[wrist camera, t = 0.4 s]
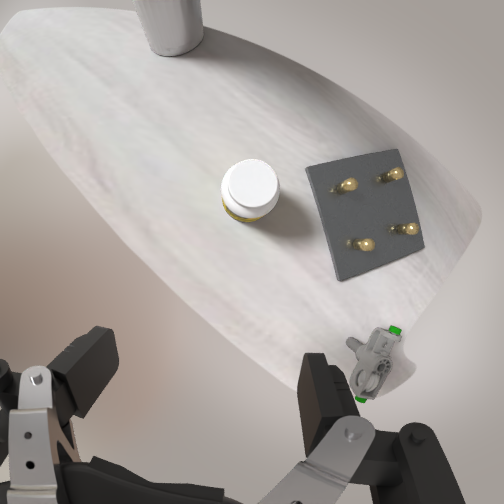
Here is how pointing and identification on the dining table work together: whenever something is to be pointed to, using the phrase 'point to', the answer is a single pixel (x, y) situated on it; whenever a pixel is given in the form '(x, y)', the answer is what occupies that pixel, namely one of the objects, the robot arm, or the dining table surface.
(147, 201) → the dining table surface
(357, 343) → the mechanical component
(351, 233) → the plate
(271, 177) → the pill bottle
